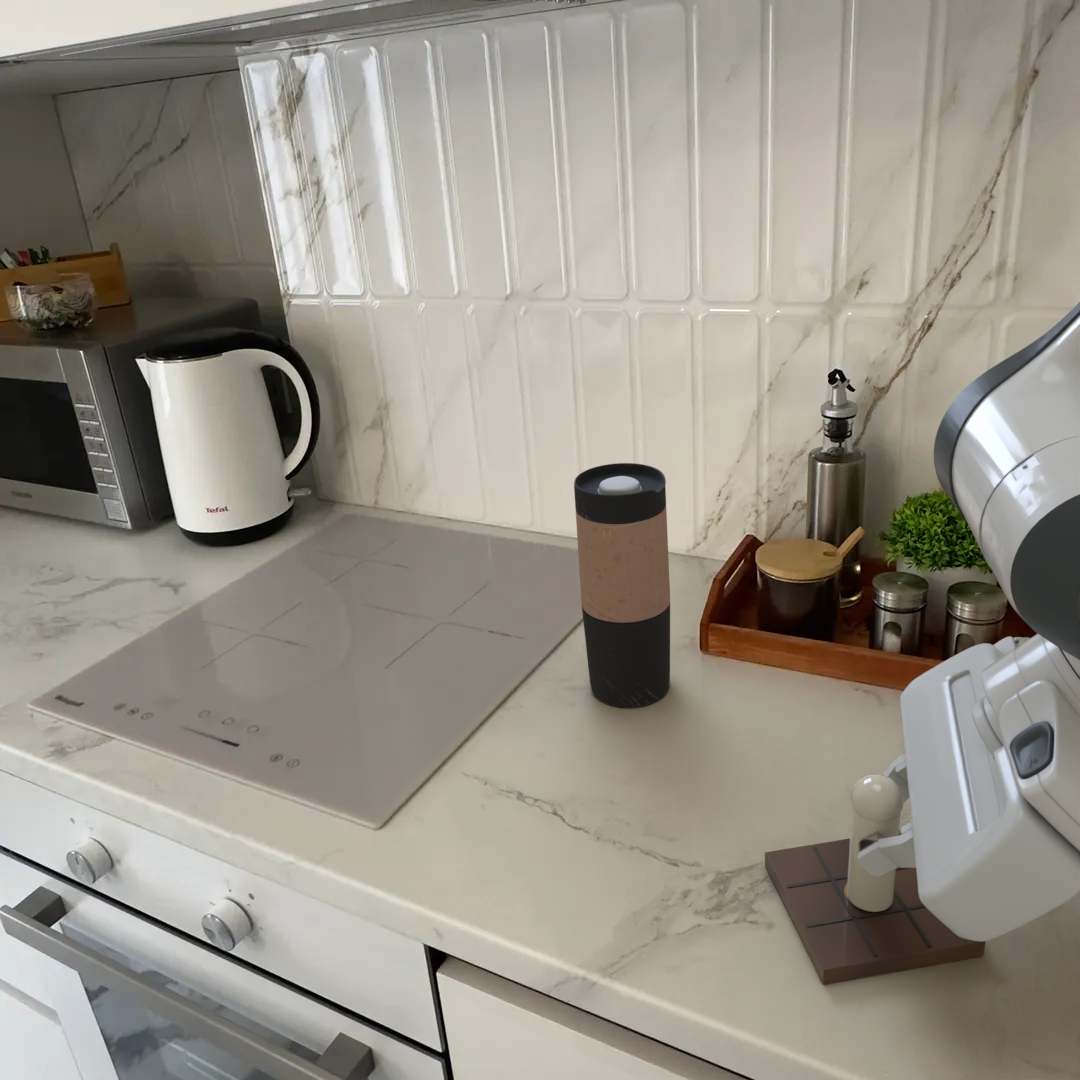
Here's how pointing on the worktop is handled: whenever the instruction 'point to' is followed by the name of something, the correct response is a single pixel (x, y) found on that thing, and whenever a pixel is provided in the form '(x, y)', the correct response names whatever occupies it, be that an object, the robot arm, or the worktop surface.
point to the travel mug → (624, 581)
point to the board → (859, 918)
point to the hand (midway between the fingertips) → (864, 838)
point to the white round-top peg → (871, 812)
